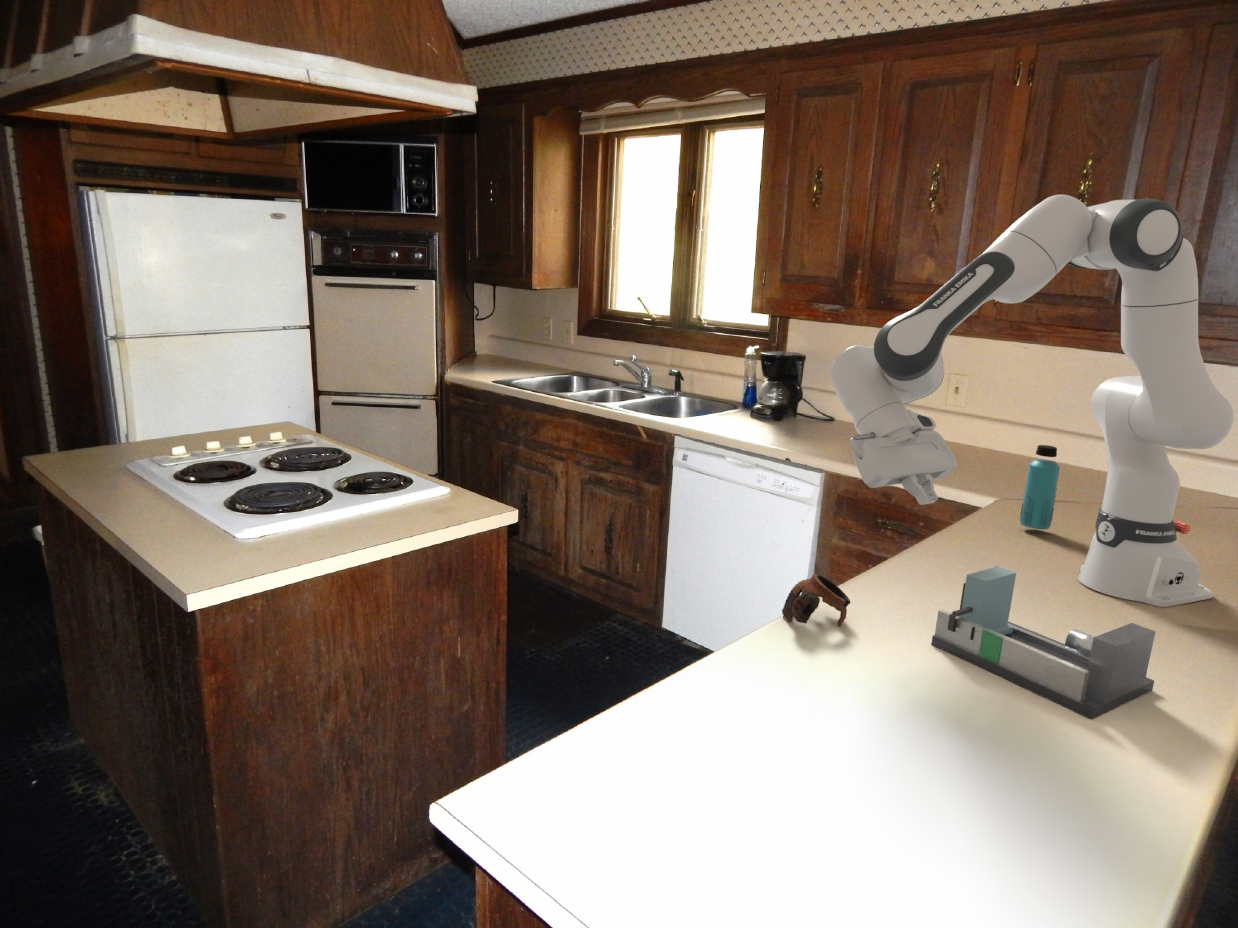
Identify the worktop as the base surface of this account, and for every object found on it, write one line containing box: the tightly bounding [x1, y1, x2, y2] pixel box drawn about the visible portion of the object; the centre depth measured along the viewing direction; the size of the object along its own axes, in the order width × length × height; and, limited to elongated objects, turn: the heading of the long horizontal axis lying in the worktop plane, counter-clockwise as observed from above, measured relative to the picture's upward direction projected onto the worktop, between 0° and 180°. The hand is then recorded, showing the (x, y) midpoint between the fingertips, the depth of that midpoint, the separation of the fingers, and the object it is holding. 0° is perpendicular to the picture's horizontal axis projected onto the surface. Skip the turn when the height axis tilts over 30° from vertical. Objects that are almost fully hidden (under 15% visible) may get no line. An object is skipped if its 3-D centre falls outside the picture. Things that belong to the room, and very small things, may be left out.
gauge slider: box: [948, 566, 1017, 635], centre depth 121 cm, size 5×13×9 cm, turn 123°
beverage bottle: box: [1019, 444, 1061, 530], centre depth 181 cm, size 6×7×20 cm
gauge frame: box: [931, 609, 1156, 721], centre depth 116 cm, size 24×16×10 cm, turn 33°
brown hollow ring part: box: [781, 573, 851, 627], centre depth 128 cm, size 12×10×8 cm
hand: (929, 502), depth 130 cm, fingers closed
